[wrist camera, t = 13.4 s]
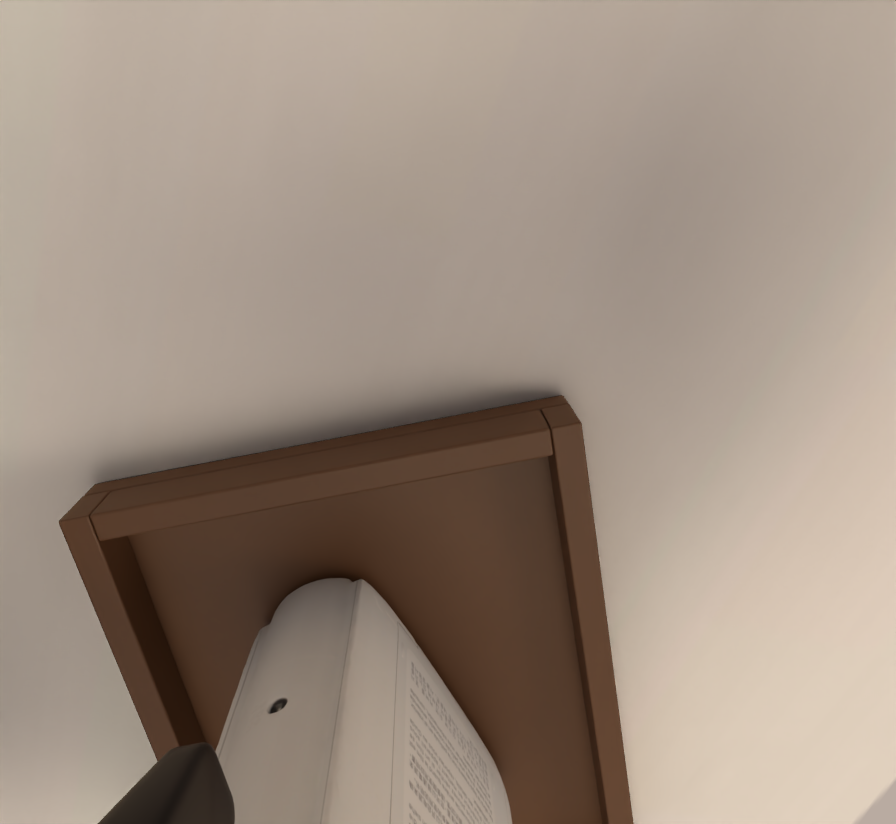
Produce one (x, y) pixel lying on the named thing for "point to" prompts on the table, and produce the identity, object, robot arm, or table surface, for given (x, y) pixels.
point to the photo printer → (351, 723)
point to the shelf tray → (381, 584)
